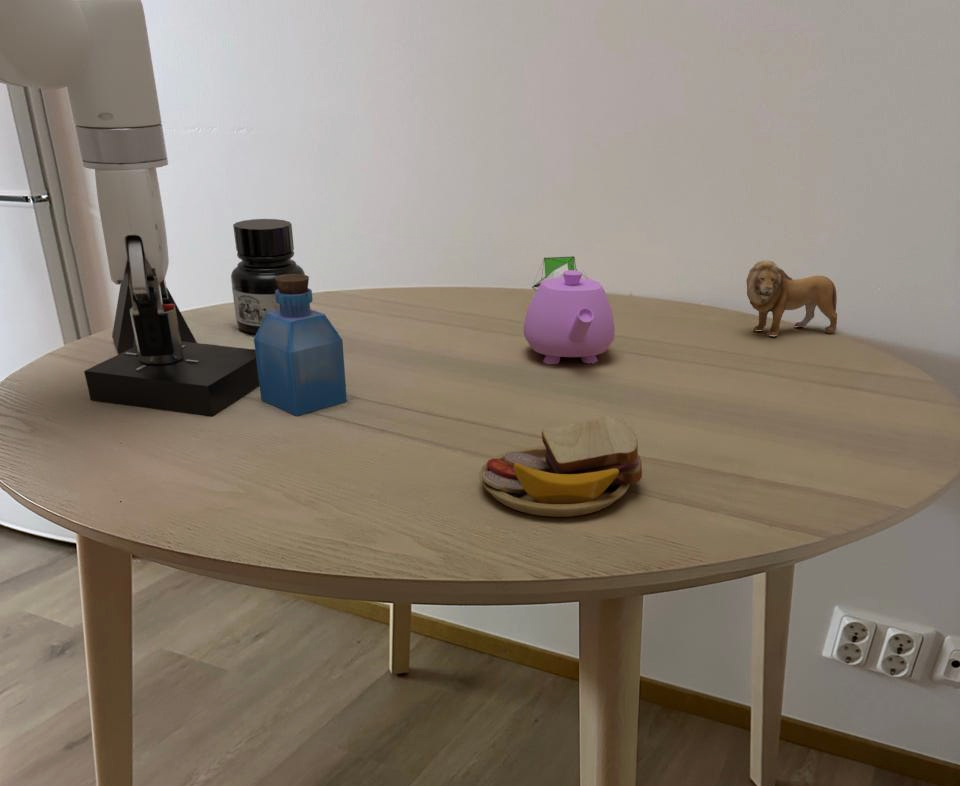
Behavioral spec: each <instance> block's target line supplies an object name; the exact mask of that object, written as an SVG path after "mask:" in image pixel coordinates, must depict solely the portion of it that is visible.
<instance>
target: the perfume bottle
mask: <svg viewBox="0 0 960 786" xmlns="http://www.w3.org/2000/svg"><path fill="white" fill-rule="evenodd" d="M275 279H276V282H277V285H278V289H277V290H276V291H275V295H276V302H277V303H278V304H280V310H279V311H274V312H270V313H266V315H265V317H264V319H263V321H262V323H261V325H260V327H259V329H258V331H257V333H256V334H255V335H254V338H253V345H254V350H255V353H256V361H257V369H258V377H259V385H260V386H259V392H260V393H259V394H260V400H261V401H262V402H265V403H267V404H269V405H271V406H274V407H276V408H278V409H280V410H282V411H284V412H287V413H288V414H292V415H293V416H295V417H298V416H301V415H304V414H308V413H311V412H314V411H318V410H322V409H325V408H328V407H332V406H335V405H339V404H342V403H345V402H346V403H347V401H348V399H347V383H346V371H345V370H346V368H345V357H344V356H345V355H344V342H343V338H342V337H341V336H340V334H339V333H338V331H337V330H336V328H335V327H334V325H333V324H332V323H331V320H330V319H329V318H328V316H327V315H326V313H323V312H320V311H317V310H314V309H311V303H312V302H313V291H312V289H311V288H309V281H310V276H308V275H307V274H305V275H303V274H285V275H280V276H277V277H276V278H275Z"/></svg>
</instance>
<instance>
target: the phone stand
mask: <svg viewBox="0 0 960 786" xmlns="http://www.w3.org/2000/svg"><path fill="white" fill-rule="evenodd" d="M166 287H167V285H166ZM167 292H168V299H163V300H169V299H170V301H171V304H174V305H175V309H176V315H177V321H178V327H179V332H180V338H181V341H183V342H192V343H198V342H197V340H196V338H195V336H194V334H193V333H192V330H191V328H190V327H189V326H188V325H189V324H188V323H187V321H186V320H185V318H184V316H183V314H182V312H181V310H180V308H179V307H178V305H177V303H176V301H175V300H174V297H173V295H172V294H171V292H170V290H169V289H168V287H167ZM132 307H133V306H132V300H131V294H130V288H129V282H128V275H127V273H126V275H125V278H124V280H122V281H121V283H120V285H119V291H118V297H117V303H116V309H115V315H114V322H113V329H112V335H111V337H112V341H113V343H114V346H115V349H116V352H117V353H118V355H119V354H121V353H123V352H125V351H127V350H129V349H131V348H133V347H136V346H137V345H136V340H135V335H134V330H133V325H132V320H131V315H130V309H131V308H132Z"/></svg>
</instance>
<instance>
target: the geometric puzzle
mask: <svg viewBox="0 0 960 786" xmlns="http://www.w3.org/2000/svg"><path fill="white" fill-rule="evenodd" d="M575 263H576V258H575V255H573V256H556V257H555V256H554V257H552V256H551V257H545V256H543V260H542V263H541V264H540V266H544V269H542V272H541V274H543V273H544V277H540V278H541V279H540V280H539V281H538V282H537V283H533V284H532V286H531V289H533V290H534V291H535V292H536V291H537V289H536V288H538V287H539V286H540V284H541V283H542V282H543V281H544V280H547V279H552V278H559V277H562V276H563V272H564V271H568V270H576V271H578V269H577V265H576V264H575ZM540 269H541V268H539V270H538V271H540ZM538 274H539V273H537V274H536V276H538ZM582 276H583V278H586V279H589V278H588V276H585V275H584V274H583V273H582ZM536 279H537V278H535V279H534V281H536Z"/></svg>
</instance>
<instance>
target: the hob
mask: <svg viewBox="0 0 960 786" xmlns="http://www.w3.org/2000/svg"><path fill="white" fill-rule="evenodd" d="M181 344H182V350H183V358H182V359H181V360H179V361H176V362H173V363H168V364H146V363H143V362H141V361H140V360H139V356H138V351H137V346H136V347H133V348H131V349H129V350H127V351H125V352H123V353H121V354H119V353H118V354H117V355H115V356H112V357H110V358H108V359H106V360H104V361H102V362H100V363H98V364H96V365H94V366H92V367H89V368H87V369H85V370H84V372H83V373H84V377H85V380H86V386H87V390H88V394H89V398H90V400H91V401H95V402H96V401H97V402H104V403H111V404H118V405H119V404H120V405H127V406H135V407H141V408H150V409H156V410H164V411H172V412H178V413H185V414H186V413H187V414H195V415H201V416H210V417H213V416H215V415H217V414H218V413H219V412H221V411H223V410H225V408H227V407H229V406H230V405H232V404H233V403H235V402H237V401H238V400H240V399H241V398H243V397H244V396H246V395H247V394H249V393H250V392H252V391H253V390H256V388H258V387H260V385H259V377H258V369H257V361H256V353H255V348H245V347H243V348H242V347H235V346H226V345H219V344H208V343H199V342H197V343H192V342H183V341H181Z"/></svg>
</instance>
